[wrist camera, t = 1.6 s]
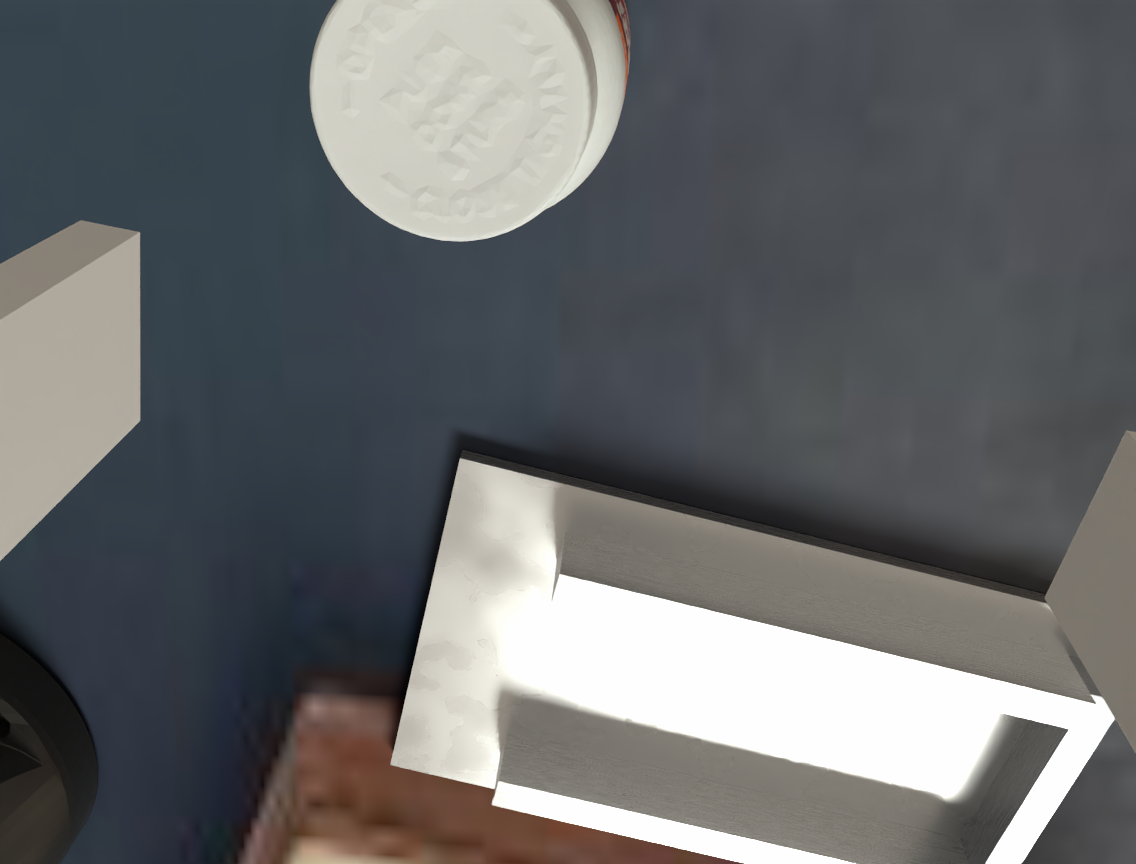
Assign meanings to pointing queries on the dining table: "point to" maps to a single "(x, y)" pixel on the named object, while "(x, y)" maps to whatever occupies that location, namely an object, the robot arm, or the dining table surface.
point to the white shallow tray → (736, 682)
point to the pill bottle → (467, 106)
